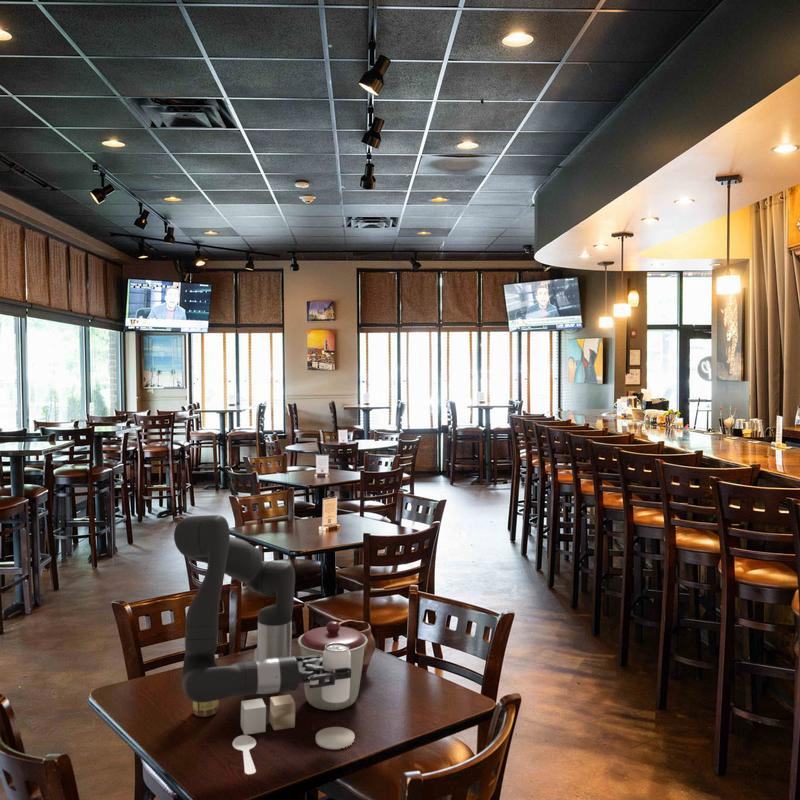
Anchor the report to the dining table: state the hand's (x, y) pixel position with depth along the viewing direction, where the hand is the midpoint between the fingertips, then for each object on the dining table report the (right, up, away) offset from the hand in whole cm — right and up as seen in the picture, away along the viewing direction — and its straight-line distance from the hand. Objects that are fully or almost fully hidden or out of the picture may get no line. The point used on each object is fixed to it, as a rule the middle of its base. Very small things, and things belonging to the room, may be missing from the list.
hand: (345, 667), depth 171 cm
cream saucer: (-2, -17, -1) cm, 17 cm away
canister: (-5, -17, +20) cm, 27 cm away
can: (-2, -7, -1) cm, 8 cm away
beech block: (-16, -16, +7) cm, 24 cm away
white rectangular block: (-23, -16, +4) cm, 28 cm away
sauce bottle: (-36, -16, +12) cm, 41 cm away
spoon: (-21, -17, -8) cm, 29 cm away
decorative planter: (-1, -17, +40) cm, 43 cm away
